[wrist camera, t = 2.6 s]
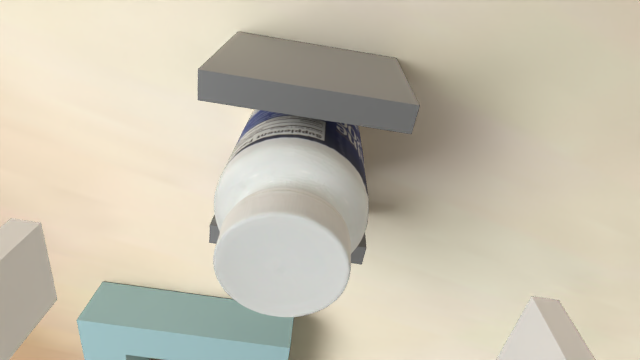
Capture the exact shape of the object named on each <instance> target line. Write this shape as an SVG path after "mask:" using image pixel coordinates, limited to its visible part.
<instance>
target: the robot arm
mask: <svg viewBox="0 0 640 360" xmlns="http://www.w3.org/2000/svg"><path fill="white" fill-rule="evenodd" d="M56 300H57V295H56V290H55V286H54V281H53V276H52V272H51V267H50V262H49V258H48V253H47V249H46V244H45V239H44V235H43V230H42V225H41V223H39V222H32V221H26V220H19V219H12V218H11V219H9V220H8V221H7V222H6V223H5V224H3V225H2V226H1V227H0V360H9V359H10V358H11V357H12V355H13V354H14V353H15V352H16V350H17V349H18V348H19V347H20V345H21V344H22V343H23V342H24V340H25V339H26V338H27V337H28V335H29V334H30V333H31V332H32V330H33V329H34V328H35V327H36V325H37V324H38V323H39V322H40V320H41V319H42V318H43V317H44V315H45V314H46V313H47V312H48V310H49V309H50V308H51V307H52V305H53V304H54V303H55V302H56ZM496 360H596V359H595V358H594V356H593V355H592V353H591V351H590V350H589V348H588V346H587V345H586V343H585V342H584V340H583V338H582V337H581V335H580V334H579V332H578V330H577V329H576V327H575V325H574V324H573V322H572V321H571V319H570V317H569V316H568V314H567V312H566V311H565V309H564V308H563V306H562V304H561V303H560V301H559V300H554V299H548V298H541V297H534V296H531V298H530V300H529V302H528V304H527V305H526V307H525V309H524V311H523V313H522V314H521V316H520V318H519V320H518V322H517V323H516V325H515V327H514V329H513V331H512V332H511V334H510V336H509V338H508V339H507V341H506V343H505V345H504V347H503V348H502V350H501V352H500V354H499V356H498V357H497V359H496Z"/></svg>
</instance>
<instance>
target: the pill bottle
mask: <svg viewBox="0 0 640 360" xmlns="http://www.w3.org/2000/svg"><path fill="white" fill-rule="evenodd" d="M214 212H215V218H216V223H217V226H218V229H219V231H220V234H219V238H218V240H217V243H216V247H215V251H214V261H213V264H214V270H215V274H216V277H217V279H218V281H219V283H220V284H221V286H222V287H223V289H224V290H225V292H226V293H227V294H228V295H230V296H231V297H232V298H233V299H234V300H235V301H237V302H238V303H239V304H241V305H243V306H244V307H246V308H248V309H251V310H253V311H255V312H258V313H261V314H266V315H270V316H277V317H298V316H305V315H308V314H311V313H314V312H317V311H320V310H322V309H324V308H326V307H328V306H329V305H330V304H331V303H333V302H334V301H335V300H336V299H337V298H338V297H339V296H340V295H341V294H342V293H343V291H344V289H345V287H346V285H347V283H348V280H349V276H350V270H351V253H352V252H353V251H354V250H355V249H356V247H357V246H358V245H359V243H360V241H361V240H362V238H363V235H364V233H365V230H366V226H367V222H368V212H369V201H368V192H367V185H366V178H365V168H364V159H363V152H362V145H361V138H360V132H359V127H358V126H357V125H351V124H345V123H338V122H332V121H326V120H319V119H313V118H307V117H301V116H294V115H288V114H282V113H275V112H269V111H263V110H257V109H254V111H253V113H252V115H251V116H250V118H249V120H248V122H247V124H246V126H245V128H244V130H243V132H242V134H241V136H240V138H239V140H238V142H237V144H236V146H235V148H234V150H233V152H232V155H231V157H230V158H229V161H228V163H227V165H226V167H225V169H224V171H223V172H222V174H221V176H220V179H219V182H218V185H217V188H216V192H215V197H214Z"/></svg>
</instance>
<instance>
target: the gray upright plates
mask: <svg viewBox="0 0 640 360" xmlns="http://www.w3.org/2000/svg"><path fill="white" fill-rule="evenodd" d="M198 100H200V101H206V102H213V103H219V104H225V105H232V106H238V107H244V108H250V109H257V110H263V111H269V112H275V113H282V114H288V115H294V116H301V117H307V118H313V119H319V120H326V121H332V122H338V123H345V124H351V125H357V126H363V127H370V128H376V129H382V130H389V131H395V132H401V133H407V134H412V130H413V127H414V124H415V120H416V117H417V113H418V110H419V106H420V105H419V103H418V101H417V99H416V97H415V95H414V93H413V91H412V89H411V87H410V85H409V83H408V81H407V79H406V77H405V75H404V73H403V71H402V68H401V66H400V64H399V62H398V60H397V58H393V57H387V56H381V55H375V54H369V53H363V52H357V51H351V50H345V49H339V48H333V47H327V46H321V45H315V44H309V43H303V42H297V41H291V40H285V39H279V38H273V37H267V36H261V35H255V34H249V33H243V32H237V33H236V34H235V35H234V36H233V37H232V38H231V39H230V40H229V41H227V42H226V43H225V44H224V45H223V46H222V47H221V48H220V49H219V50H218V51H217V52H216V53H215V54H214V55H213V56H212V57H211V58H209V59H208V60H207V61H206V62H205V63H204V64H203V65H202V66H201V67H200V68H199V69H198ZM219 234H220V231H219V229H218V226H217V223H216V218H215V215H214V217H213V219H212V221H211V224H210V240H209V243H217V240H218V238H219ZM365 250H366V240H365V233H364V235H363V238H362V240H361V241H360V243H359V245H358V246H357V247H356V249H355V250H354V251H353V252H352V253H351V263H355V264H362V262H363V258H364V254H365Z"/></svg>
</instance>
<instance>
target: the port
mask: <svg viewBox="0 0 640 360" xmlns="http://www.w3.org/2000/svg"><path fill="white" fill-rule="evenodd" d="M293 319H294V317H277V316H270V315H266V314H261V313H258V312H255V311H253V310H251V309H248V308H246V307H244V306H243V305H241V304H239V303H238V302H237V301H235V300H233V299H226V298H219V297H211V296H204V295H197V294H190V293H182V292H175V291H168V290H160V289H153V288H146V287H139V286H131V285H124V284H117V283H109V282H102V284H101V285H100V287H99V288H98V289H97V291H96V292H95V294H94V295H93V297H92V298H91V300H90V301H89V303H88V304H87V306H86V307H85V309H84V310H83V311H82V313H81V314H80V316H79V317H78V319H77V324H78V329H79V334H80V339H81V344H82V349H83V353H84V358H85V360H149V358H156V359H163V360H288V357H289V352H290V345H291V336H292V327H293Z"/></svg>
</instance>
